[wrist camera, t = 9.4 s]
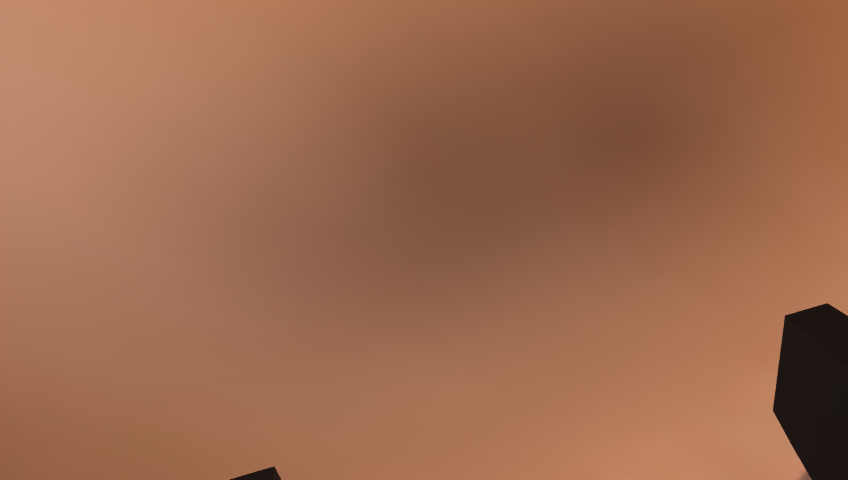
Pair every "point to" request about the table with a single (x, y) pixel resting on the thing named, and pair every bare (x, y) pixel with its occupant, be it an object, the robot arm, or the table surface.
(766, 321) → the table surface
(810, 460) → the robot arm
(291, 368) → the table surface
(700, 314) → the table surface
